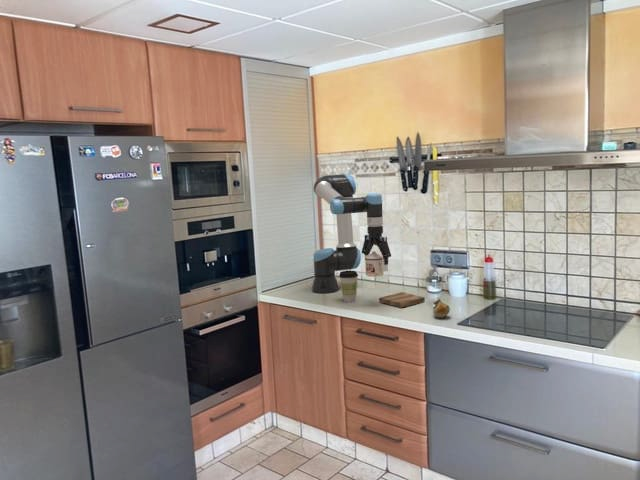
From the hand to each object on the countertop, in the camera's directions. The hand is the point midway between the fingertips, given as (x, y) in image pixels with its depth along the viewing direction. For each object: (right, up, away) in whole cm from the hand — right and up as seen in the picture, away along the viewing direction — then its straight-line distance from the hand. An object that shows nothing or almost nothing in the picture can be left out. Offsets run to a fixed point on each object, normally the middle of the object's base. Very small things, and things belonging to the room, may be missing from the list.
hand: (376, 269), depth 257 cm
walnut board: (+13, -17, +7) cm, 23 cm away
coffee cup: (-12, -17, +16) cm, 26 cm away
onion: (+27, -20, -22) cm, 40 cm away
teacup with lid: (0, -3, 0) cm, 3 cm away
